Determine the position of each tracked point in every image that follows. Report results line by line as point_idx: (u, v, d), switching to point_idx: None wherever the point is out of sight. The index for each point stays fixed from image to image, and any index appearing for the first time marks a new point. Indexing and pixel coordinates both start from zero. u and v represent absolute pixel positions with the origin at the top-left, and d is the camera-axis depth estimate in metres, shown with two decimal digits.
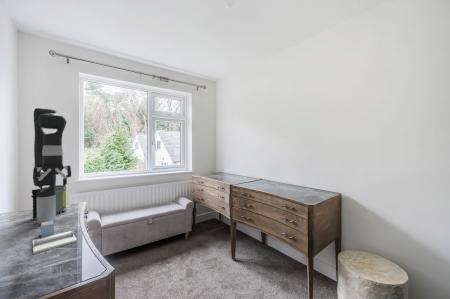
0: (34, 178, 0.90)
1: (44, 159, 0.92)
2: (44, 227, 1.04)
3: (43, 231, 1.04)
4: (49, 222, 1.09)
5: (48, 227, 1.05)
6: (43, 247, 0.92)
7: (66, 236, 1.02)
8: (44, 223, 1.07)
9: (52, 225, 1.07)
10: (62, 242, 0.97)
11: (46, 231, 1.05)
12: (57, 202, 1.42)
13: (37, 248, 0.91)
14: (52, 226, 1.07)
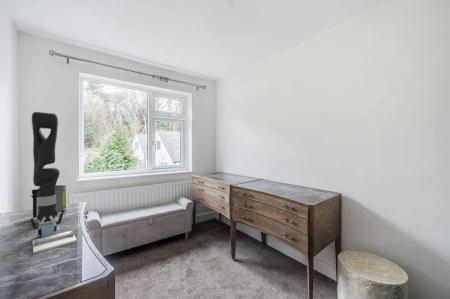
0: (34, 228, 1.03)
1: (39, 209, 1.04)
2: (44, 227, 1.04)
3: (43, 231, 1.04)
4: (49, 222, 1.09)
5: (48, 227, 1.06)
6: (43, 247, 0.92)
7: (66, 236, 1.02)
8: (44, 223, 1.07)
9: (52, 225, 1.07)
10: (62, 242, 0.97)
11: (46, 231, 1.05)
12: (57, 202, 1.42)
13: (37, 248, 0.91)
14: (52, 226, 1.07)
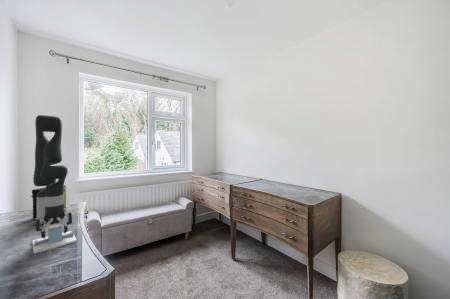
0: (37, 230, 0.94)
1: (46, 210, 0.96)
2: (51, 232, 0.96)
3: (50, 236, 0.96)
4: (56, 226, 1.01)
5: (56, 232, 0.97)
6: (43, 247, 0.92)
7: (66, 236, 1.02)
8: (51, 227, 0.99)
9: (60, 229, 0.98)
10: (62, 242, 0.97)
11: (53, 236, 0.97)
12: None
13: (37, 248, 0.91)
14: (60, 230, 0.98)
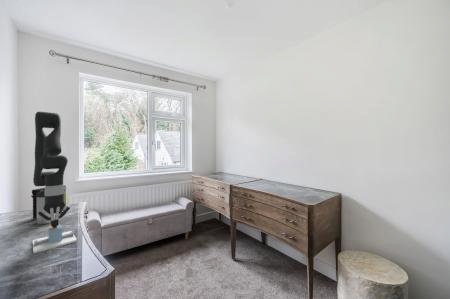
0: (47, 219, 0.97)
1: (46, 199, 0.96)
2: (51, 232, 0.96)
3: (50, 236, 0.96)
4: None
5: (56, 232, 0.97)
6: (43, 247, 0.92)
7: (66, 236, 1.02)
8: (51, 227, 0.99)
9: (60, 229, 0.98)
10: (62, 242, 0.97)
11: (53, 236, 0.97)
12: None
13: (37, 248, 0.91)
14: (60, 230, 0.98)
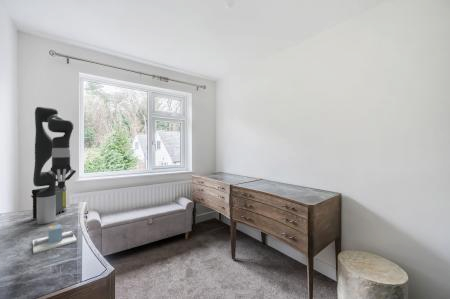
0: (54, 179, 1.01)
1: (53, 160, 1.00)
2: (51, 232, 0.96)
3: (50, 236, 0.96)
4: (56, 226, 1.01)
5: (56, 232, 0.97)
6: (43, 247, 0.92)
7: (66, 236, 1.02)
8: (51, 227, 0.99)
9: (60, 229, 0.98)
10: (62, 242, 0.97)
11: (53, 236, 0.97)
12: (57, 202, 1.42)
13: (37, 248, 0.91)
14: (60, 230, 0.98)
